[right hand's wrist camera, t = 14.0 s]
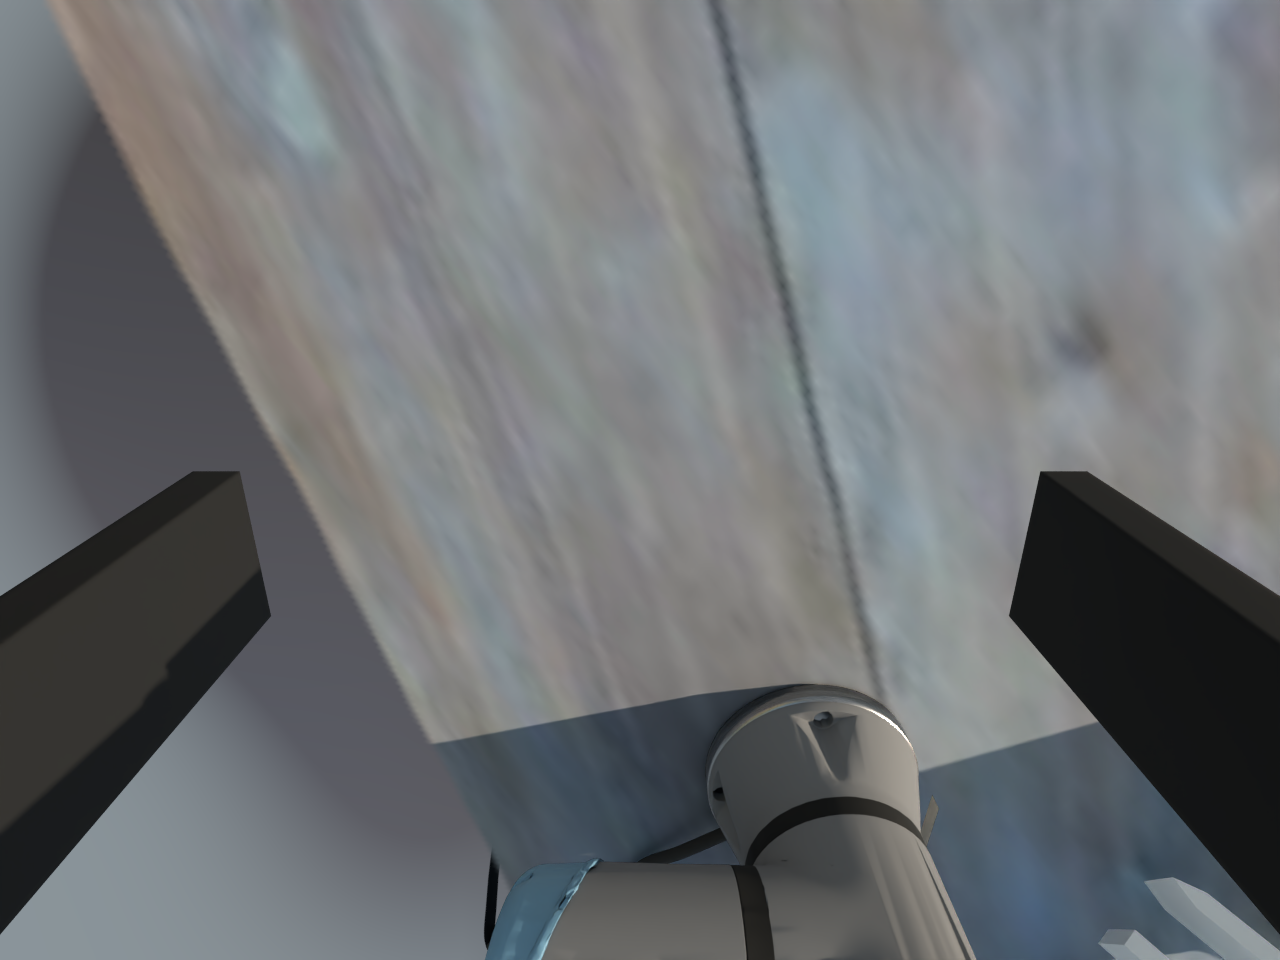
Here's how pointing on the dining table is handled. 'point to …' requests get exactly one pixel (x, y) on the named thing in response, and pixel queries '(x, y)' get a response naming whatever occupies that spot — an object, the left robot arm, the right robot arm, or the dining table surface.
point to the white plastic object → (1192, 927)
